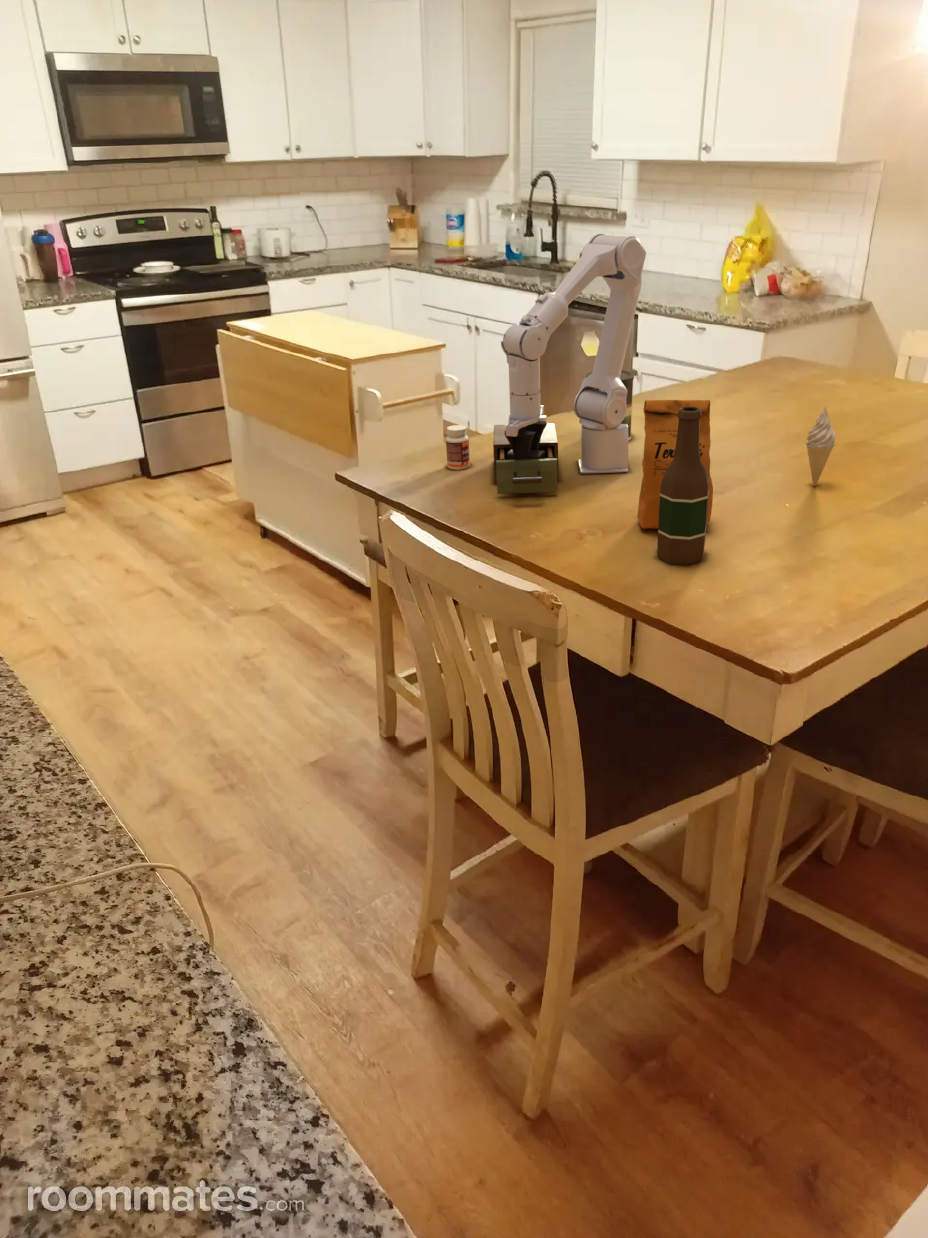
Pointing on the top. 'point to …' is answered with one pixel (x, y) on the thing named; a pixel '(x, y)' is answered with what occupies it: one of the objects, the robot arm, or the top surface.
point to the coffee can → (628, 383)
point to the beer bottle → (684, 496)
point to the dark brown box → (533, 455)
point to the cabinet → (502, 442)
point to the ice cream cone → (820, 445)
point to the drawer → (526, 473)
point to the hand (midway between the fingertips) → (526, 462)
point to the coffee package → (667, 452)
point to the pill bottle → (457, 447)
